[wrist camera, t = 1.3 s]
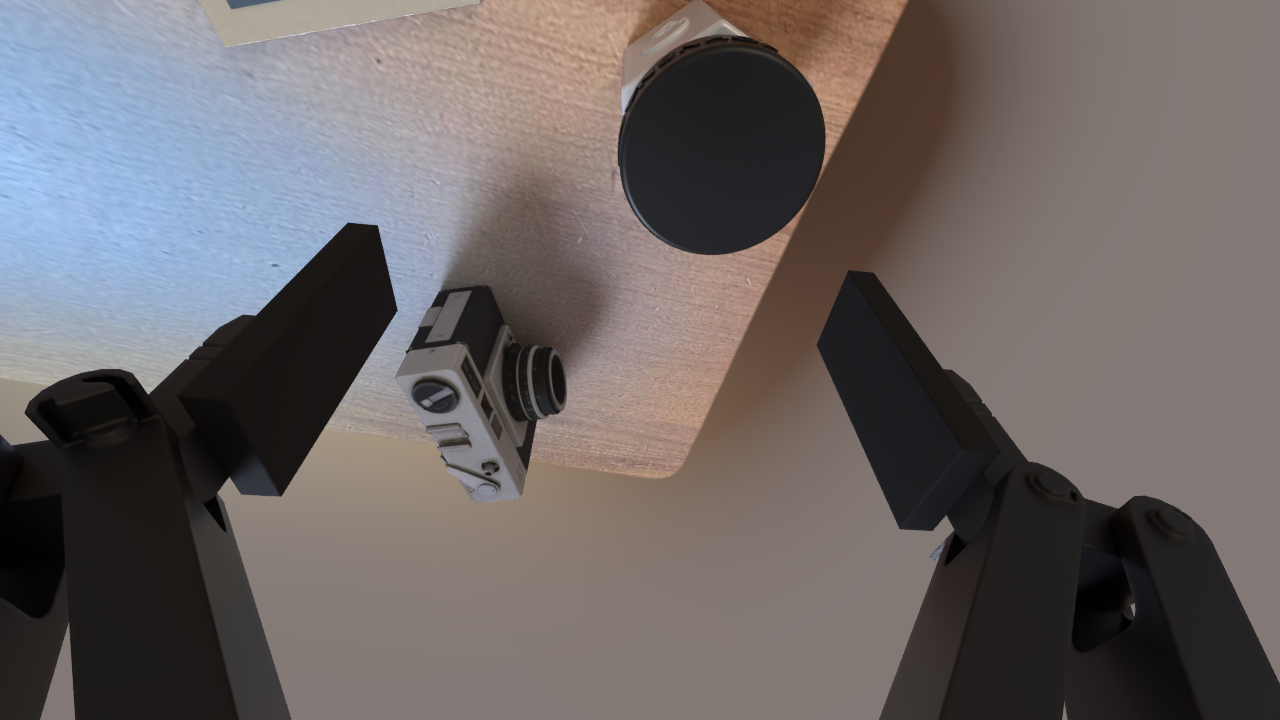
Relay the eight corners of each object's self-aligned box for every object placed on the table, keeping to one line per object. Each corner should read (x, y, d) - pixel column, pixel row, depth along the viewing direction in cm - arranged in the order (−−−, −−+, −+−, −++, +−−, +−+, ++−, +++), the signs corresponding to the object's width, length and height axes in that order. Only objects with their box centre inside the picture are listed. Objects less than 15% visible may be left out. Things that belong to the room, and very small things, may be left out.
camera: (578, 416, 46) (562, 512, 38) (479, 415, 46) (443, 510, 39) (560, 283, 37) (534, 373, 29) (437, 283, 37) (379, 373, 30)
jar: (735, -37, 25) (795, -21, 16) (791, 114, 30) (863, 192, 21) (587, 68, 28) (567, 132, 19) (659, 191, 33) (671, 290, 24)
